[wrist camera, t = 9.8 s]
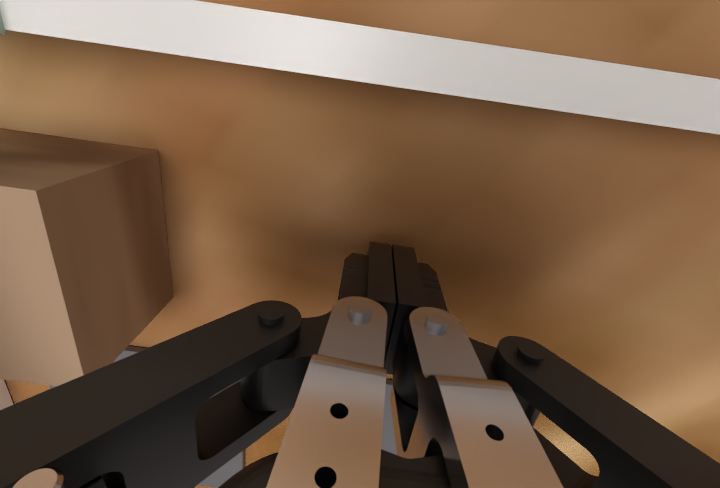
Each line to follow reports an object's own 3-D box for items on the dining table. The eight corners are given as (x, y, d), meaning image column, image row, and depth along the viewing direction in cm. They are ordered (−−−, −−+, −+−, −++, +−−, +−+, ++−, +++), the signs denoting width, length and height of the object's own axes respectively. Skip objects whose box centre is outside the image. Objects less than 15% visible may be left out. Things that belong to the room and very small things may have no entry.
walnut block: (160, 150, 12) (36, 190, 8) (175, 295, 15) (87, 390, 10) (-16, 125, 12) (-245, 152, 8) (29, 275, 15) (-125, 363, 10)
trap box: (815, 107, 11) (1089, 124, 7) (542, 542, 21) (583, 657, 17) (-192, -44, 10) (-580, -128, 6) (25, 479, 20) (-65, 583, 16)
